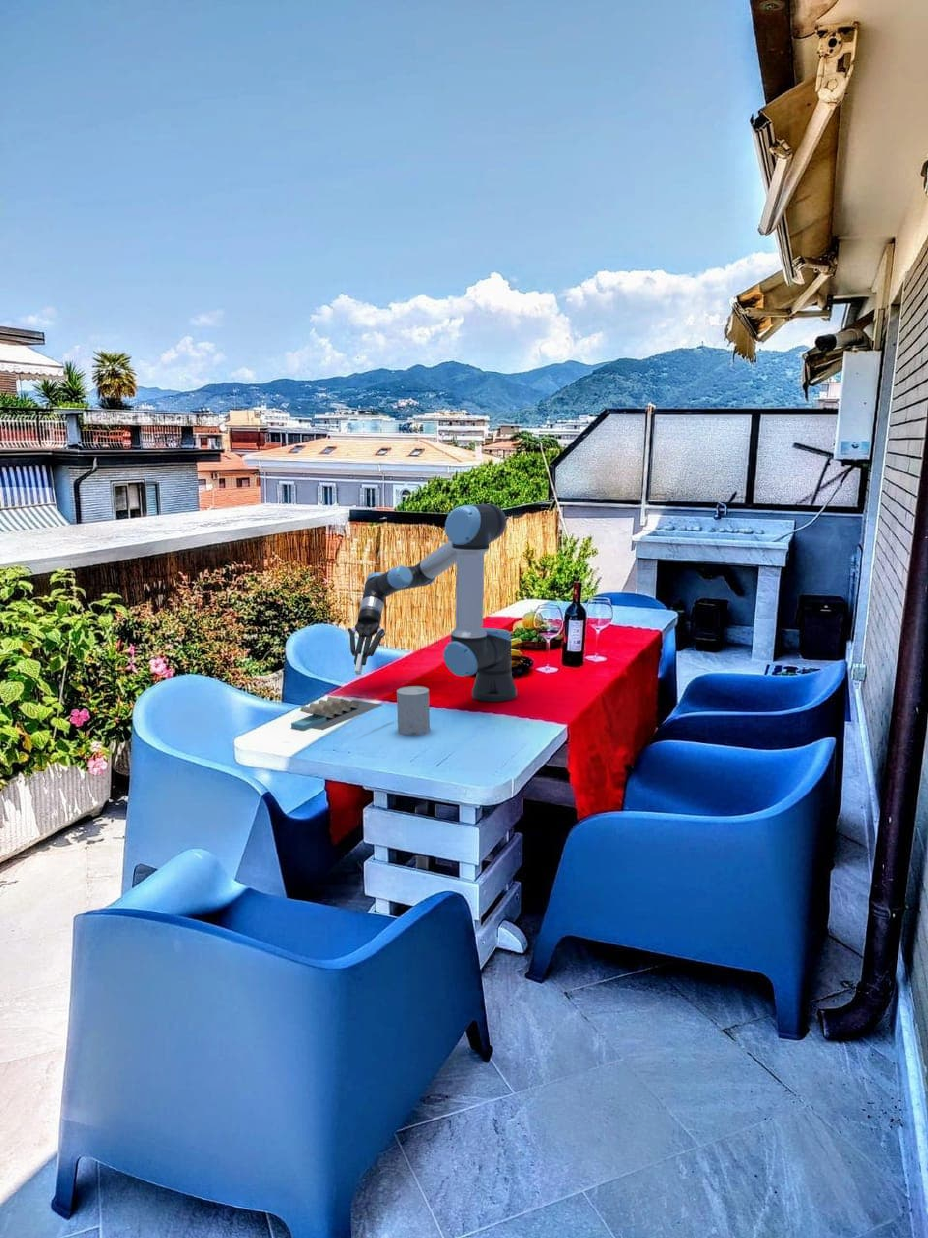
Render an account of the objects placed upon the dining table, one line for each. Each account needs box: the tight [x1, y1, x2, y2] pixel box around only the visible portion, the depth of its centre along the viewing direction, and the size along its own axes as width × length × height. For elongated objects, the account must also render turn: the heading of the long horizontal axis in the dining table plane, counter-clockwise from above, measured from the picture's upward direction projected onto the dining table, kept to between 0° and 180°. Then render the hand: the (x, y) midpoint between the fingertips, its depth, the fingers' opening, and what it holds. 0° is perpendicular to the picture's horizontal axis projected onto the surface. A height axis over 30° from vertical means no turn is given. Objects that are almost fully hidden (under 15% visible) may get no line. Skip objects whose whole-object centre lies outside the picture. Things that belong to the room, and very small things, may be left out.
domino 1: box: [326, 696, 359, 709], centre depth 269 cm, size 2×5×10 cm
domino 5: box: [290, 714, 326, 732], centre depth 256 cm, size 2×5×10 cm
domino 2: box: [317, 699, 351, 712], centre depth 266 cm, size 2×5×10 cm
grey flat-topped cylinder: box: [396, 685, 431, 737], centre depth 251 cm, size 10×10×12 cm
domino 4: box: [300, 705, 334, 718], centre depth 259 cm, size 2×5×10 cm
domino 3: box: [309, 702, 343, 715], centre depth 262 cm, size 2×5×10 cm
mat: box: [311, 699, 383, 731], centre depth 266 cm, size 30×12×1 cm, turn 149°
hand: (357, 672), depth 277 cm, fingers closed
